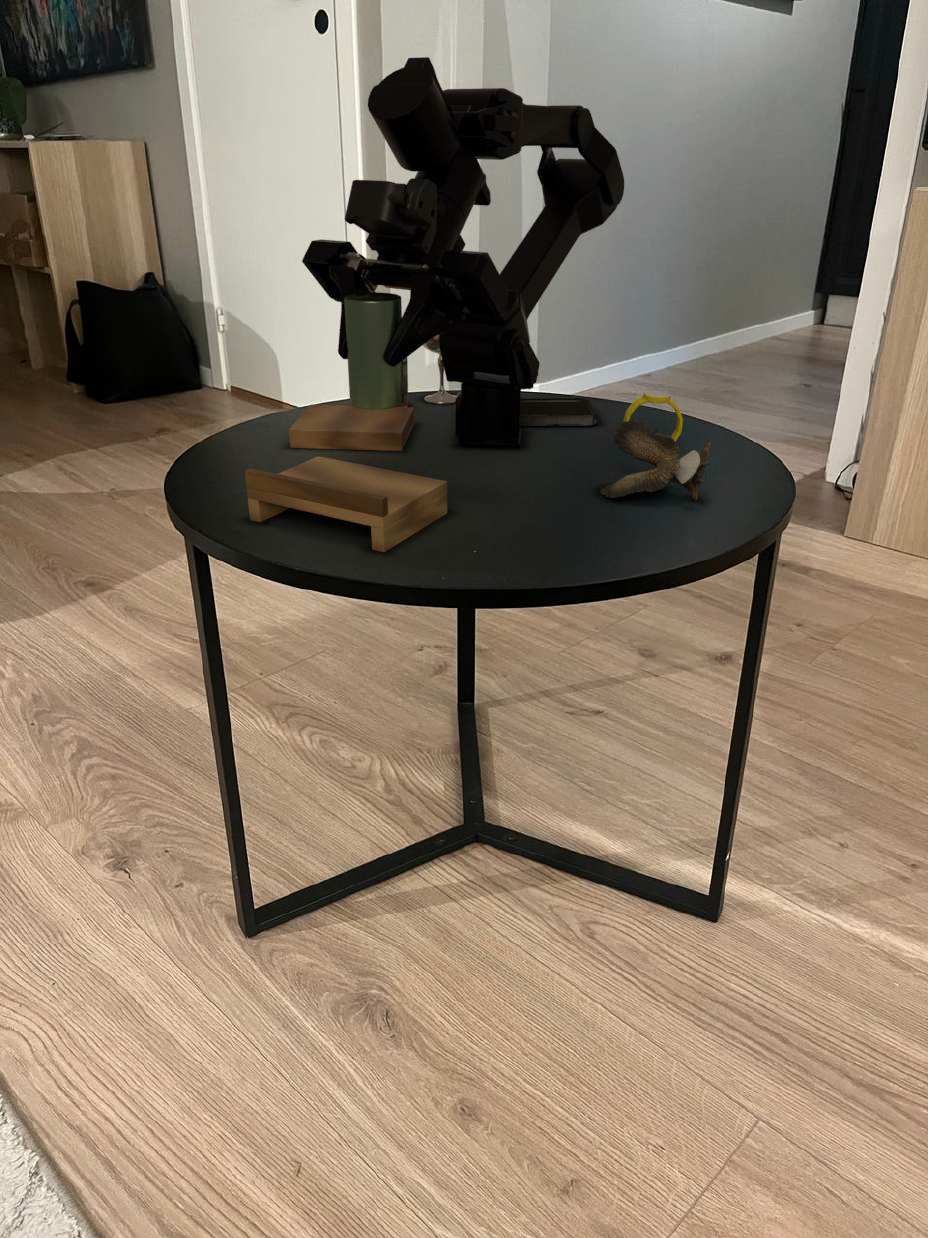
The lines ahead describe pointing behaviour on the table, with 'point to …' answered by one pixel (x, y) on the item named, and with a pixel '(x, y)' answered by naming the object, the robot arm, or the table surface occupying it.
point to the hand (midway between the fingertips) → (365, 359)
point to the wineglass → (441, 395)
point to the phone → (557, 412)
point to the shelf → (350, 497)
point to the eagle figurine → (656, 461)
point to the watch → (657, 398)
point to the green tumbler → (373, 350)
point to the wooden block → (352, 428)
